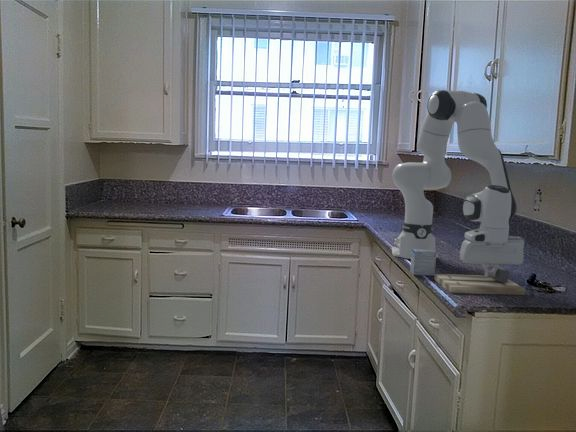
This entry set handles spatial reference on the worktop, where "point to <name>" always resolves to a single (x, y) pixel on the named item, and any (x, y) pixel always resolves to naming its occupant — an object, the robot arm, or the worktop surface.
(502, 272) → the fader knob
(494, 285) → the console
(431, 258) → the medicine box
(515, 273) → the worktop surface
